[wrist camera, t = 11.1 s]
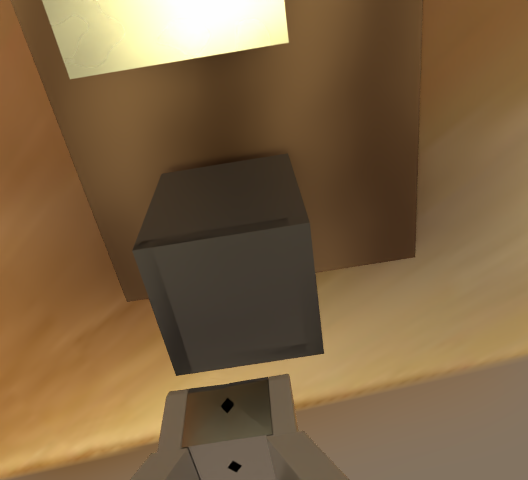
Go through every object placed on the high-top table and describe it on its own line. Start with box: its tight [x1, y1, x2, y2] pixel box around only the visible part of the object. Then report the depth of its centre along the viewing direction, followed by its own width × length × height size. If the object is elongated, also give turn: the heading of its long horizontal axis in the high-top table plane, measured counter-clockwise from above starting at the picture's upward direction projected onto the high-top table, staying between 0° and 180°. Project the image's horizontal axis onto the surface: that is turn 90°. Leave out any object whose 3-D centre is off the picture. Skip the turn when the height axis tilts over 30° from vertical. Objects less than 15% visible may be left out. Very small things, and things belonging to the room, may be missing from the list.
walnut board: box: [11, 0, 423, 302], centre depth 18 cm, size 15×19×1 cm
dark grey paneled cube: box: [132, 153, 324, 376], centre depth 17 cm, size 5×5×6 cm
